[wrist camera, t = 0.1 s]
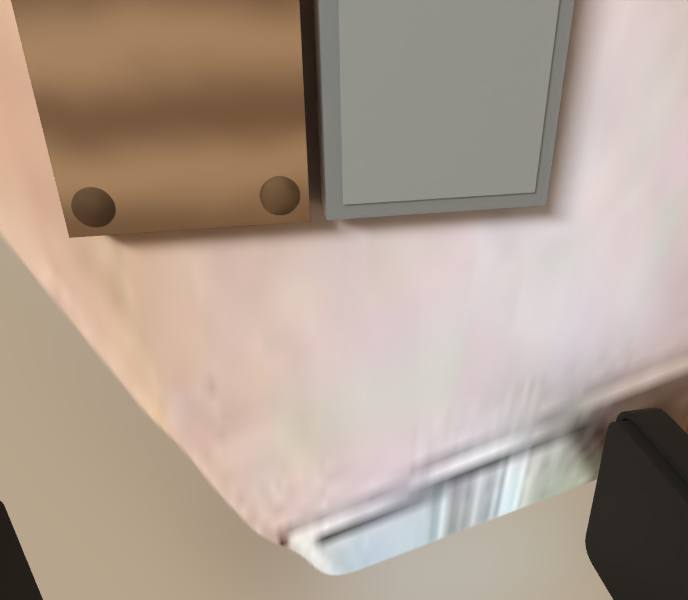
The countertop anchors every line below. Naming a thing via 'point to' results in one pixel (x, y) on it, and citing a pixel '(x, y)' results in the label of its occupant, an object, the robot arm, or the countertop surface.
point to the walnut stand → (170, 111)
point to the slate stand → (437, 103)
